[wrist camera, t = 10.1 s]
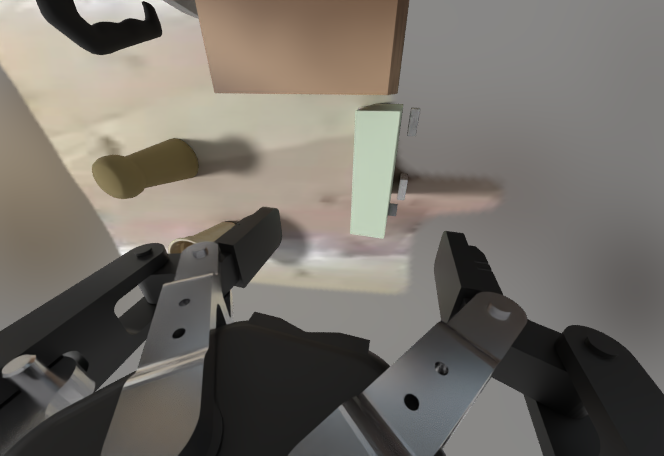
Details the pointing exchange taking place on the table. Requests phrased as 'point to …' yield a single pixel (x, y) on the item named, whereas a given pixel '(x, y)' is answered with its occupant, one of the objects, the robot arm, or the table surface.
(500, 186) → the table surface
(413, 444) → the robot arm
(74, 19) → the coffeepot
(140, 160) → the cork
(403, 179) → the small rectangular blocks
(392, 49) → the brown wooden box
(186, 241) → the flower pot
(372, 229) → the door panel
